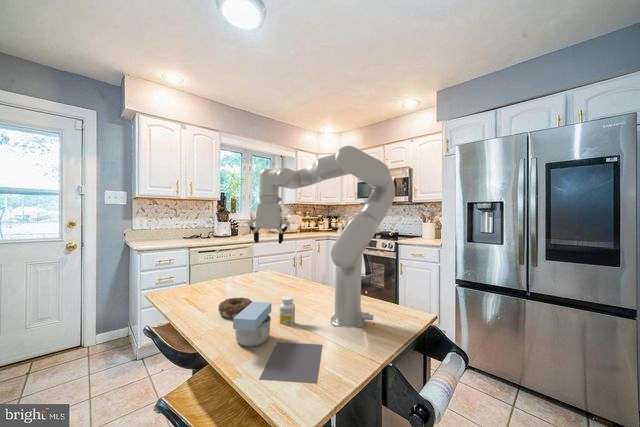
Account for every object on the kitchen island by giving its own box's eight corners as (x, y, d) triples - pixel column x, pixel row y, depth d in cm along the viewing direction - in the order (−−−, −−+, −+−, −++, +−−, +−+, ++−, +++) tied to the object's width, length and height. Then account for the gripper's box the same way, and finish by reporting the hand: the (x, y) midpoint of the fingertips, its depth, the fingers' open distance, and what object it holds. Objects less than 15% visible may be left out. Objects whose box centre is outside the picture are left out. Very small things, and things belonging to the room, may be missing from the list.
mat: (322, 347, 80) (322, 344, 80) (316, 387, 62) (316, 383, 62) (277, 345, 81) (277, 342, 81) (258, 383, 63) (258, 379, 63)
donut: (210, 316, 103) (210, 303, 103) (235, 305, 116) (235, 293, 116) (238, 323, 97) (238, 309, 97) (261, 310, 110) (261, 298, 109)
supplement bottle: (287, 320, 100) (287, 294, 100) (297, 324, 97) (297, 297, 97) (276, 324, 96) (276, 298, 96) (286, 329, 93) (287, 301, 92)
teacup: (232, 338, 85) (232, 314, 85) (265, 332, 90) (266, 308, 90) (239, 361, 73) (239, 332, 73) (277, 352, 77) (278, 325, 77)
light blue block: (271, 311, 88) (271, 302, 88) (255, 330, 74) (255, 319, 74) (252, 310, 89) (252, 301, 89) (233, 328, 75) (233, 318, 75)
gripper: (292, 201, 109) (291, 242, 110) (251, 200, 111) (250, 241, 111) (288, 200, 102) (287, 244, 102) (244, 199, 103) (244, 243, 104)
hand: (268, 242), depth 107 cm, fingers open, 9 cm apart
